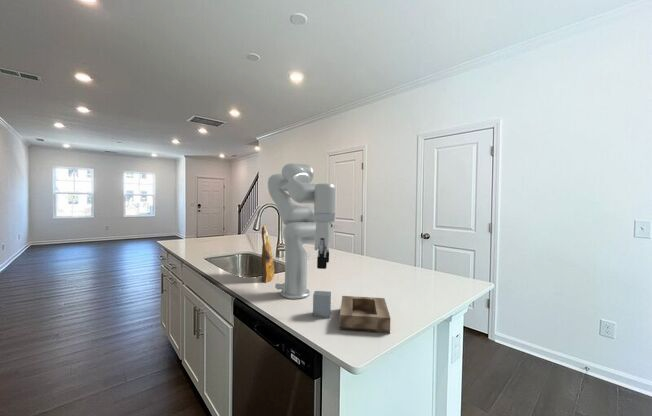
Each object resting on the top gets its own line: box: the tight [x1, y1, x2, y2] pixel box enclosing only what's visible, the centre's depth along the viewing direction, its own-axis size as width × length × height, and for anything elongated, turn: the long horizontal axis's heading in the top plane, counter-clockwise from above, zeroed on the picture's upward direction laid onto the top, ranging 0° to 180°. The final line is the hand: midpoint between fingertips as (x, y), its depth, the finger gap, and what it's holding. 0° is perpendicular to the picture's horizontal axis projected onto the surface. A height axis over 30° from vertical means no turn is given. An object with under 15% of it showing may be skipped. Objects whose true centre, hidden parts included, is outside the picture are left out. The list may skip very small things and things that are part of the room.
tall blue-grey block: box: [312, 290, 332, 319], centre depth 102 cm, size 6×4×8 cm
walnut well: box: [339, 295, 391, 335], centre depth 98 cm, size 16×18×5 cm
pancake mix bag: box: [260, 223, 275, 283], centre depth 147 cm, size 7×19×28 cm, turn 2°
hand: (323, 265), depth 101 cm, fingers open, 9 cm apart
